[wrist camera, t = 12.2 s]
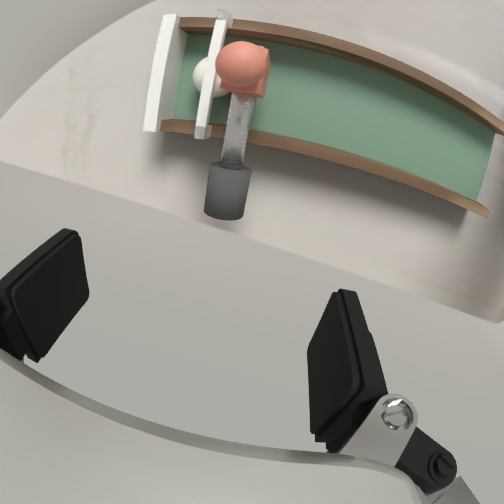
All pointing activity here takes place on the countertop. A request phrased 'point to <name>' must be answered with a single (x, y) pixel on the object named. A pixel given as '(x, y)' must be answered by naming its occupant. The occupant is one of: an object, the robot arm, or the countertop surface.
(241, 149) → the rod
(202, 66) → the egg
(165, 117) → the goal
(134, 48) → the countertop surface
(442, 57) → the countertop surface
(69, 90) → the countertop surface
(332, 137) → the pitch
